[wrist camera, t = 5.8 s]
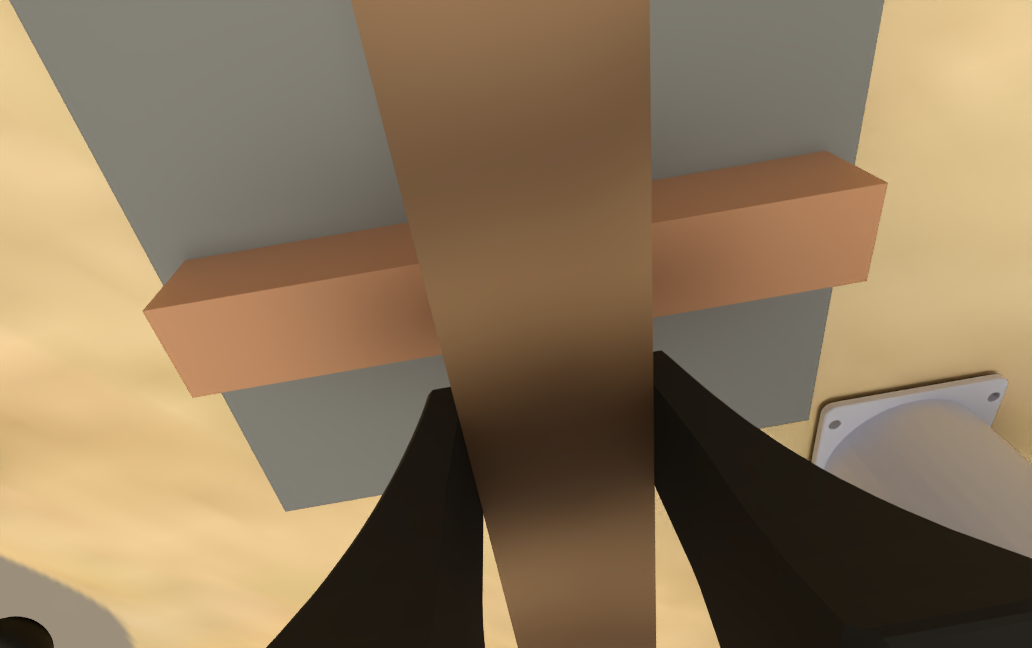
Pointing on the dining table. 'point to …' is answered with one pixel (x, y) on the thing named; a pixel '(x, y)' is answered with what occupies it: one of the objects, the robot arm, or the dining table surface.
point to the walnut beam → (538, 284)
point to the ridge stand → (385, 229)
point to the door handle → (23, 633)
